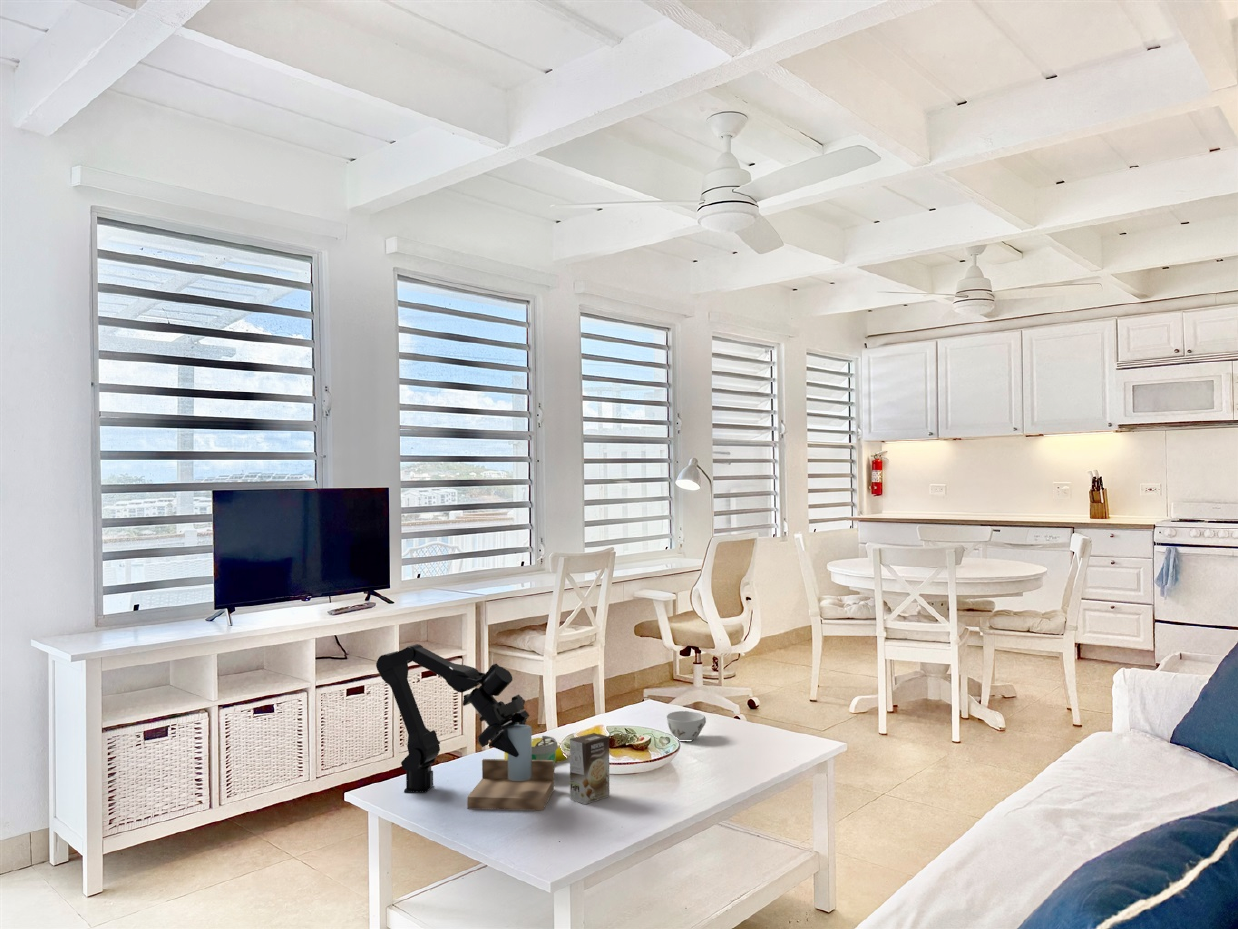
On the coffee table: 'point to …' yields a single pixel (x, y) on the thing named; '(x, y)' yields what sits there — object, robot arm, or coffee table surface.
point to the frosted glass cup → (520, 753)
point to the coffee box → (589, 768)
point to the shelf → (512, 787)
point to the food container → (545, 749)
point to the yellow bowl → (558, 753)
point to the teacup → (685, 724)
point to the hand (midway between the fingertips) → (524, 752)
